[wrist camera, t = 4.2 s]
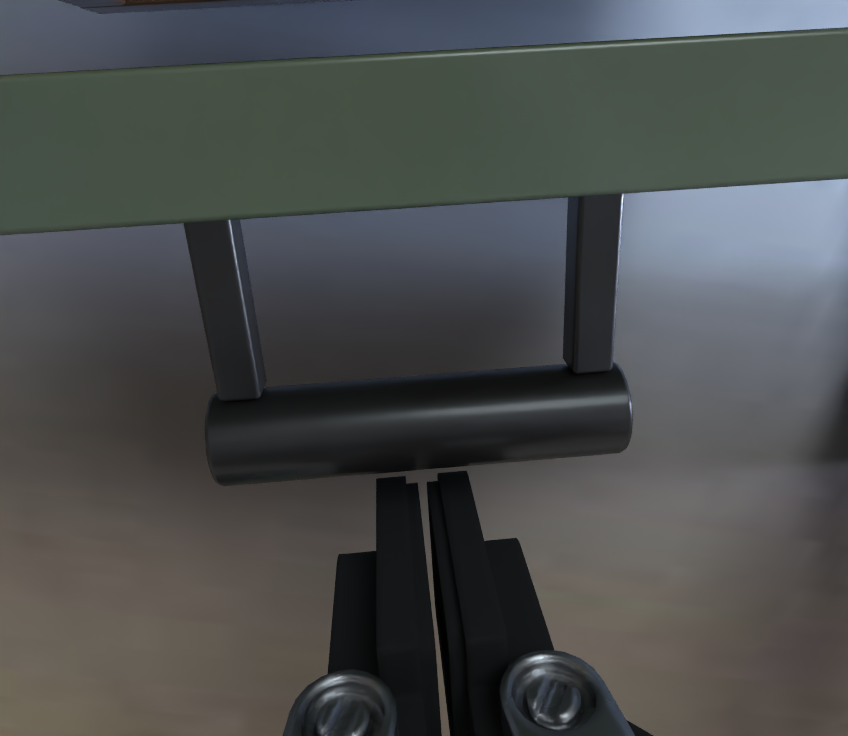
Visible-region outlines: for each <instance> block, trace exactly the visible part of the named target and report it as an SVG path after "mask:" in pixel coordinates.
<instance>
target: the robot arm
mask: <svg viewBox="0 0 848 736" xmlns="http://www.w3.org/2000/svg"><path fill="white" fill-rule="evenodd" d="M437 476H438V481H433V482H427V494H428V509H429V523H430V538H431V553H432V568H433V582H434V597H435V608H436V618H437V626H438V635H439V644H440V652H441V661H442V669H443V678H444V686H445V695H446V703H447V712H448V721H449V729H450V736H653V735H651V734H649V733H648V732H646V731H644V730H643V729H641V728H639V727H637V726H636V725H634V724H632V723H631V722H629V721H627V720H626V719H625V717H624V716H623V714H622V712H621V710H620V709H619V707H618V705H617V703H616V702H615V700H614V698H613V697H612V695H611V693H610V691H609V690H608V688H607V686H606V684H605V683H604V681H603V680H602V678H601V677H600V676H599V675H598V673H597V672H596V671H595V670H594V668H593V667H591V666H590V665H588V664H587V663H586V662H584V661H583V660H582V659H580V658H578V657H576V656H573V655H571V654H568V653H566V652H561V651H554V648H553V644H552V641H551V638H550V635H549V632H548V629H547V626H546V623H545V620H544V617H543V614H542V611H541V607H540V604H539V601H538V598H537V595H536V592H535V589H534V586H533V583H532V580H531V577H530V574H529V570H528V567H527V564H526V561H525V558H524V555H523V552H522V549H521V546H520V543H519V541H518V539H517V538H511V539H500V540H489V541H484V538H483V534H482V530H481V526H480V522H479V518H478V514H477V510H476V506H475V501H474V497H473V493H472V489H471V485H470V481H469V477H468V473H467V471H457V472H446V473H438V475H437ZM282 736H442V734H441V720H440V706H439V691H438V677H437V663H436V650H435V639H434V629H433V619H432V610H431V601H430V592H429V583H428V573H427V564H426V555H425V546H424V537H423V527H422V518H421V509H420V500H419V491H418V483H410V484H406V477H405V476H400V477H389V478H378V479H376V551H371V552H361V553H350V554H339V556H338V560H337V569H336V581H335V593H334V605H333V617H332V629H331V641H330V653H329V665H328V674H327V675H325V676H322V677H320V678H319V679H317V680H316V681H314V682H313V683H311V684H310V685H308V686H307V687H306V688H305V689H304V690H303V692H302V693H301V694H300V695H299V696H298V697H297V698H296V700H295V702H294V704H293V706H292V709H291V711H290V713H289V716H288V719H287V722H286V726H285V729H284V732H283V735H282Z"/></svg>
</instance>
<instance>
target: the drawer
mask: <svg viewBox="0 0 848 736" xmlns="http://www.w3.org/2000/svg"><path fill="white" fill-rule="evenodd" d="M59 1H62V2H65V3H69V4H72V5H75V6H78V7H81V8H83V9H86V10H89V11H92V12H96V13H99V14H107V13H126V12H144V11H163V10H182V9H201V8H220V7H239V6H258V5H277V4H295V3H314V2H333V1H352V0H59ZM834 179H848V27H846V28H828V29H810V30H793V31H775V32H757V33H740V34H722V35H704V36H687V37H669V38H651V39H634V40H616V41H598V42H581V43H563V44H545V45H528V46H510V47H492V48H475V49H457V50H439V51H422V52H404V53H386V54H368V55H351V56H333V57H315V58H298V59H280V60H262V61H245V62H227V63H209V64H192V65H174V66H156V67H139V68H121V69H103V70H86V71H68V72H50V73H33V74H15V75H0V235H12V234H27V233H42V232H57V231H72V230H87V229H102V228H116V227H131V226H146V225H161V224H176V223H183V224H184V229H185V234H186V239H187V244H188V249H189V254H190V259H191V264H192V269H193V274H194V279H195V284H196V289H197V294H198V298H199V303H200V308H201V313H202V318H203V323H204V328H205V333H206V338H207V343H208V348H209V353H210V358H211V363H212V368H213V373H214V378H215V383H216V388H217V392H216V393H214V394H213V395H212V396H211V398H210V400H209V403H208V407H207V411H206V417H205V449H206V456H207V461H208V465H209V468H210V471H211V474H212V476H213V478H214V480H215V482H216V483H217V484H219V485H222V486H233V485H245V484H257V483H269V482H281V481H293V480H305V479H317V478H328V477H340V476H352V475H364V474H376V473H388V472H400V471H412V470H423V469H435V468H447V467H459V466H471V465H483V464H495V463H507V462H518V461H530V460H542V459H554V458H566V457H578V456H590V455H602V454H613V453H620V452H622V451H623V450H625V449H626V448H627V446H628V444H629V442H630V438H631V433H632V421H633V413H632V402H631V396H630V391H629V387H628V384H627V381H626V378H625V375H624V373H623V371H622V369H621V368H620V367H619V365H618V364H617V363H615V362H613V351H614V336H615V321H616V306H617V291H618V276H619V261H620V245H621V230H622V215H623V200H624V194H625V193H640V192H655V191H670V190H685V189H700V188H715V187H730V186H745V185H759V184H774V183H789V182H804V181H819V180H834ZM565 197H568V214H567V245H566V275H565V306H564V336H563V359H564V361H565V362H566V364H559V365H546V366H533V367H520V368H507V369H495V370H482V371H469V372H456V373H443V374H430V375H418V376H405V377H392V378H379V379H366V380H353V381H341V382H328V383H315V384H302V385H289V386H277V387H265V384H266V381H267V380H266V374H265V368H264V362H263V356H262V350H261V344H260V338H259V332H258V326H257V320H256V314H255V308H254V302H253V296H252V290H251V284H250V278H249V272H248V266H247V260H246V254H245V248H244V242H243V236H242V229H241V223H240V219H251V218H266V217H281V216H296V215H311V214H326V213H341V212H356V211H371V210H386V209H401V208H416V207H431V206H445V205H460V204H475V203H490V202H505V201H520V200H535V199H550V198H565Z"/></svg>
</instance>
